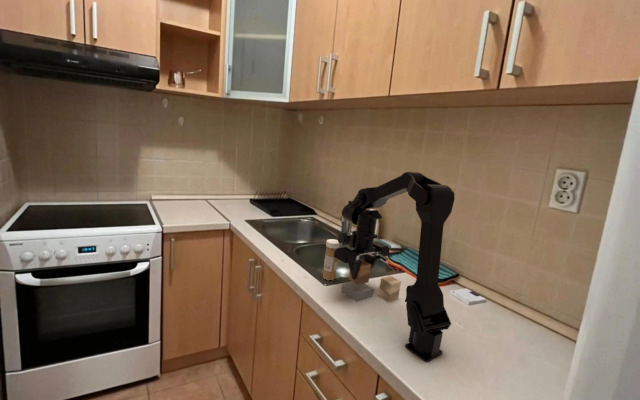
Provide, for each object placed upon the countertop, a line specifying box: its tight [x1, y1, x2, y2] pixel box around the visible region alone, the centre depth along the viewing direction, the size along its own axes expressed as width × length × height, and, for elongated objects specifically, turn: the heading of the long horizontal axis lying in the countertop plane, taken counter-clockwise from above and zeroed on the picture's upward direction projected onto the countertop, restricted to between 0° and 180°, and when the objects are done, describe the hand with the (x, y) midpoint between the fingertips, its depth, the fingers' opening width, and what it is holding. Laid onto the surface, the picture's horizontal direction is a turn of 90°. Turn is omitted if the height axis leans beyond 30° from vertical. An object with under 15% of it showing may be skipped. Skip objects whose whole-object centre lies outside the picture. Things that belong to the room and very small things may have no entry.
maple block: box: [378, 275, 402, 303], centre depth 108 cm, size 4×4×6 cm
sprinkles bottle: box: [322, 238, 341, 281], centre depth 116 cm, size 5×5×13 cm
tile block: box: [340, 281, 374, 303], centre depth 108 cm, size 7×7×3 cm
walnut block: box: [348, 258, 372, 285], centre depth 106 cm, size 4×4×6 cm
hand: (359, 277), depth 107 cm, fingers closed on walnut block, 4 cm apart
